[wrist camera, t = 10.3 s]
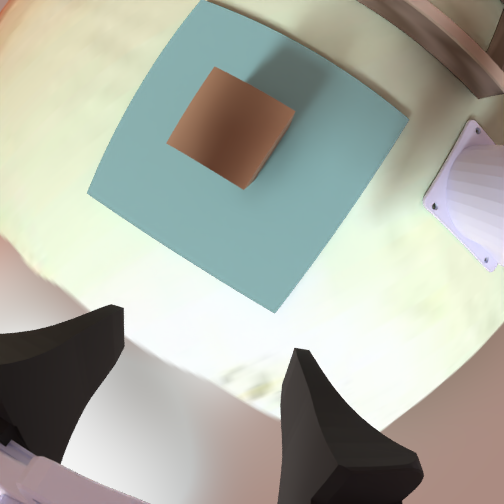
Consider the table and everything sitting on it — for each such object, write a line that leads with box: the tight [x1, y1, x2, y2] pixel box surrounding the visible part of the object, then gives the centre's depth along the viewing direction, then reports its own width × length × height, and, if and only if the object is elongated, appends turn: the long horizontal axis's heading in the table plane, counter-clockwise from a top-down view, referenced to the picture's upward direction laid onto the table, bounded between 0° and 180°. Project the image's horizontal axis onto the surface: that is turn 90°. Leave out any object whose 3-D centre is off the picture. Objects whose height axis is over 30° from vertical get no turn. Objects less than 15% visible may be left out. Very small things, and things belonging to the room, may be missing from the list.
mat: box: [87, 0, 409, 313], centre depth 18 cm, size 16×16×1 cm
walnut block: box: [166, 66, 295, 190], centre depth 15 cm, size 4×4×6 cm
